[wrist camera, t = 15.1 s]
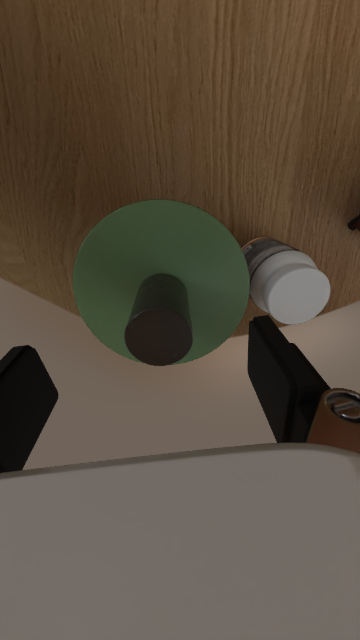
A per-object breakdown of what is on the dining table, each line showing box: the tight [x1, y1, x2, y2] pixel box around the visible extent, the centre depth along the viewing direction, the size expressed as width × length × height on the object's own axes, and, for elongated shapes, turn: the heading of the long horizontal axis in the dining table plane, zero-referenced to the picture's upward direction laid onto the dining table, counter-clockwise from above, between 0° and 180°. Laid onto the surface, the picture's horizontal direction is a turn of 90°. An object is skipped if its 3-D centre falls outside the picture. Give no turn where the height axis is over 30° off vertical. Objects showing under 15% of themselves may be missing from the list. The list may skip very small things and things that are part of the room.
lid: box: [73, 199, 250, 366], centre depth 15 cm, size 13×13×7 cm
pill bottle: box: [241, 237, 330, 324], centre depth 22 cm, size 6×6×10 cm
